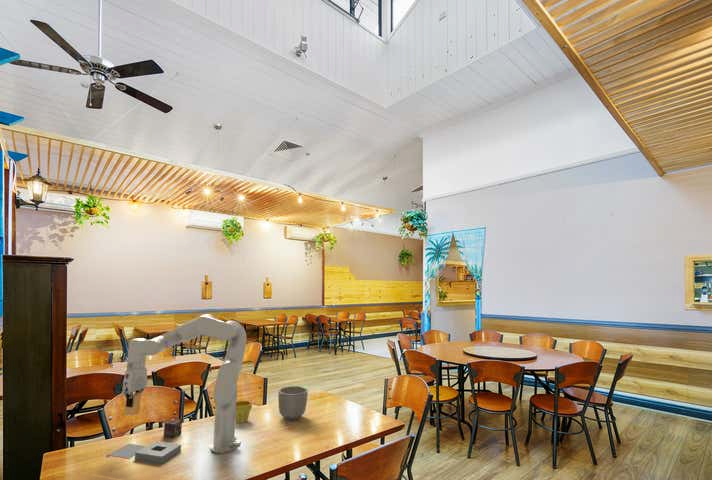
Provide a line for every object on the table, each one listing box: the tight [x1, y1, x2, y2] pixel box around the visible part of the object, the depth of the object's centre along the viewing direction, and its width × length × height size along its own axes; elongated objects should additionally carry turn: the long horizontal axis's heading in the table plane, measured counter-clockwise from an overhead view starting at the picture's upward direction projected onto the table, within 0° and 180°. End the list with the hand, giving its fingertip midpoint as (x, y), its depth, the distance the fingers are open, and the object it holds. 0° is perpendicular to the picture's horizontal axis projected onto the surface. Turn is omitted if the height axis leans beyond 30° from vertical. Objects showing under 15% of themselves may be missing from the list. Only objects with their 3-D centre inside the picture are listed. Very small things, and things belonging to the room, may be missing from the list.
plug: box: [123, 392, 142, 417], centre depth 172 cm, size 5×4×9 cm
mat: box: [106, 443, 147, 459], centre depth 170 cm, size 12×12×1 cm
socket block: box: [134, 440, 182, 465], centre depth 166 cm, size 14×12×4 cm
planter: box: [277, 385, 309, 422], centre depth 216 cm, size 17×17×16 cm
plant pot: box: [235, 400, 253, 424], centre depth 210 cm, size 10×10×10 cm
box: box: [163, 418, 183, 439], centre depth 188 cm, size 6×6×7 cm
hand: (132, 404), depth 172 cm, fingers closed on plug, 3 cm apart
